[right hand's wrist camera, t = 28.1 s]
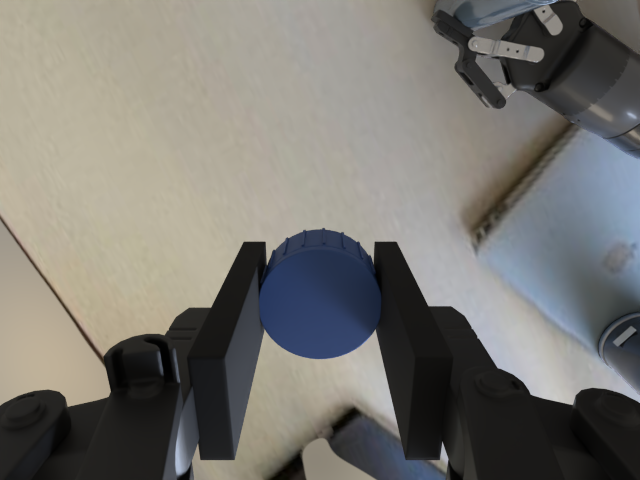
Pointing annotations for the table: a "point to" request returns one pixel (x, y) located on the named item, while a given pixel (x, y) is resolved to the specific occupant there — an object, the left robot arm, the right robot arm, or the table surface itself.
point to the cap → (319, 295)
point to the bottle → (487, 10)
